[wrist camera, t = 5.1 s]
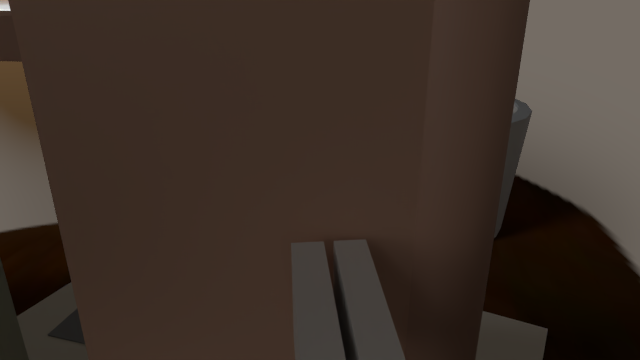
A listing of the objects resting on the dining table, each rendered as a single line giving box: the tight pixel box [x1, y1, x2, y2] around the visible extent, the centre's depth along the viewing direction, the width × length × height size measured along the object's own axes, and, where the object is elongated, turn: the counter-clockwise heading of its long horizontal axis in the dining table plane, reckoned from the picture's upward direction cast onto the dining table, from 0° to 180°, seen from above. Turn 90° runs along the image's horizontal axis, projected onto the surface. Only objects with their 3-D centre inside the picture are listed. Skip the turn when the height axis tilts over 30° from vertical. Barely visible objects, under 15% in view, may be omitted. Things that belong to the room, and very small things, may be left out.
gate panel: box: [0, 0, 530, 360], centre depth 14 cm, size 13×2×15 cm, turn 85°
